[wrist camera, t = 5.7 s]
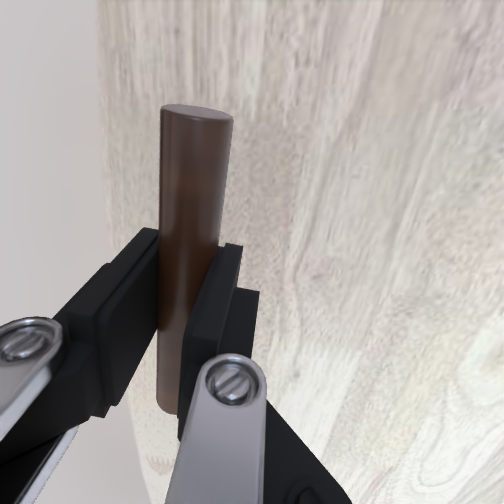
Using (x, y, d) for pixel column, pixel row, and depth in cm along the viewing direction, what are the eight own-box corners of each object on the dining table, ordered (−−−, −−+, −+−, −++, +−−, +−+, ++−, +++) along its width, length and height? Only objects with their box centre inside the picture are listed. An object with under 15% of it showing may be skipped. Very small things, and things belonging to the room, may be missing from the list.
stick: (181, 102, 8) (145, 106, 6) (242, 115, 8) (219, 122, 6) (169, 372, 13) (147, 406, 11) (206, 385, 13) (188, 422, 11)
